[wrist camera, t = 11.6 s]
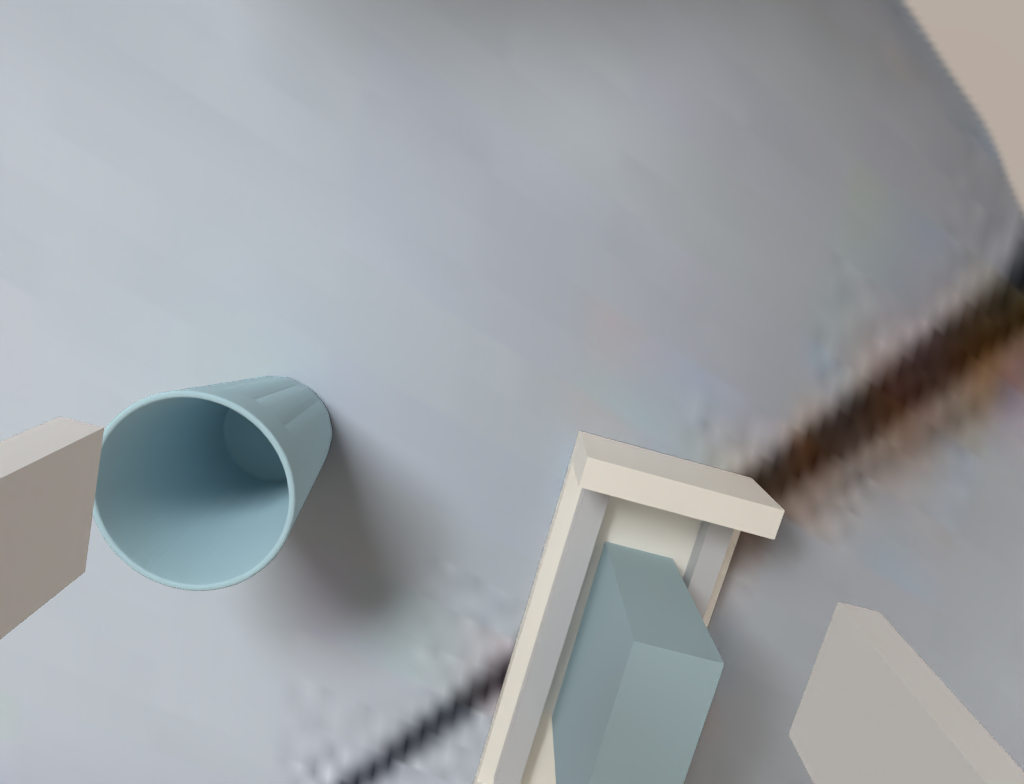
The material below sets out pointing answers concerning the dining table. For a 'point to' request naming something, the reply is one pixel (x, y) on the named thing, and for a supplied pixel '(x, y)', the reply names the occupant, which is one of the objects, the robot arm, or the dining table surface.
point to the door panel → (634, 676)
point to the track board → (572, 566)
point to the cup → (209, 478)
